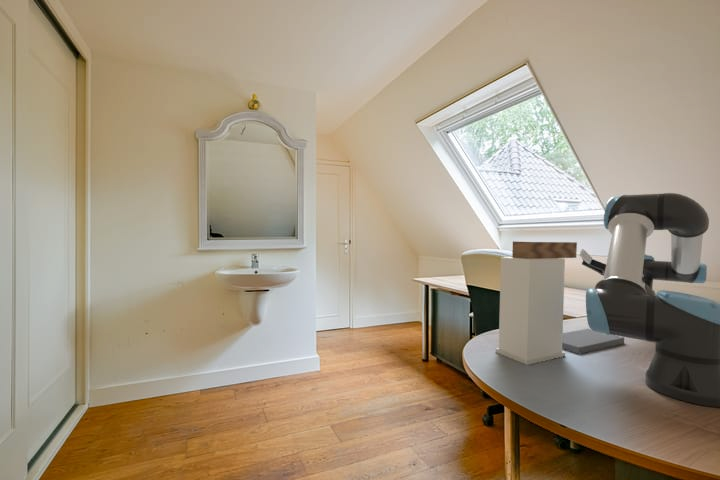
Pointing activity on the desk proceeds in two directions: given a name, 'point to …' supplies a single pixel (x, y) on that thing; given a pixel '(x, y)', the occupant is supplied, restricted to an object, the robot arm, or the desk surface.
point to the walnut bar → (544, 250)
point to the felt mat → (588, 340)
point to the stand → (531, 309)
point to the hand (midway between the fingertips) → (601, 253)
